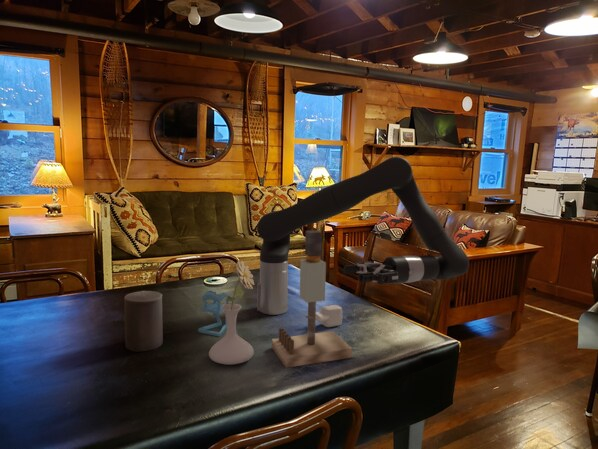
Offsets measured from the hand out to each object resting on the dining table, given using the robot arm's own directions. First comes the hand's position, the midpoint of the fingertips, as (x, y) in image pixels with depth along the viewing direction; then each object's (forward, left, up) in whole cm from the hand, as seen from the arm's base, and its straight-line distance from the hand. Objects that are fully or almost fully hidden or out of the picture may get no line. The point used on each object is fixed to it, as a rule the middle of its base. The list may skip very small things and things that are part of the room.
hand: (351, 273), depth 119 cm
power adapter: (-11, +11, -21) cm, 26 cm away
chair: (-39, -5, -21) cm, 45 cm away
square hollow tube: (-8, -8, -6) cm, 13 cm away
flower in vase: (-25, -19, -21) cm, 37 cm away
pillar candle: (-51, -22, -21) cm, 59 cm away
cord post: (-8, -8, -21) cm, 23 cm away
